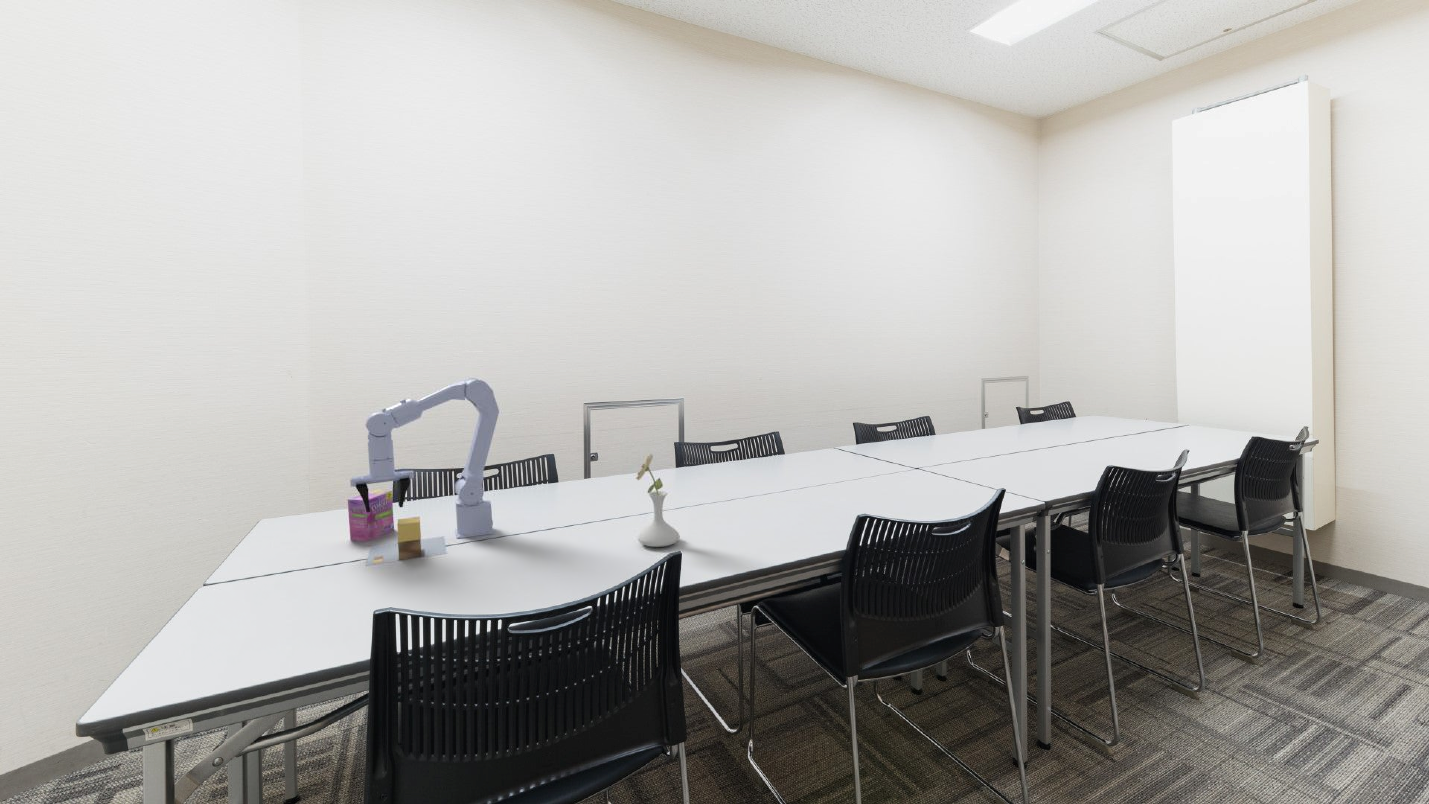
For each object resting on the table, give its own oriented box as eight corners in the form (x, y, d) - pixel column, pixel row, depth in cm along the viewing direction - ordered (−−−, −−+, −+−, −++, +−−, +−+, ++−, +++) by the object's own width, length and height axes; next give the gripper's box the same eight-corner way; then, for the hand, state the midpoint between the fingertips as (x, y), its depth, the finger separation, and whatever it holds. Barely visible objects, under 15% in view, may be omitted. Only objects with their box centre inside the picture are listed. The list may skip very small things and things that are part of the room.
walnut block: (421, 550, 155) (420, 533, 154) (421, 556, 150) (420, 539, 150) (399, 553, 152) (398, 536, 152) (399, 559, 148) (397, 542, 147)
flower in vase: (653, 533, 167) (652, 446, 165) (687, 540, 162) (686, 450, 159) (624, 548, 156) (622, 455, 153) (660, 555, 150) (658, 459, 148)
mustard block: (399, 536, 152) (397, 519, 151) (420, 533, 154) (419, 516, 154) (398, 542, 148) (397, 524, 147) (420, 539, 150) (419, 521, 149)
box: (367, 542, 162) (364, 500, 161) (349, 540, 163) (346, 499, 162) (395, 530, 172) (392, 490, 171) (378, 528, 173) (375, 489, 172)
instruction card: (444, 536, 166) (444, 535, 166) (446, 554, 152) (446, 553, 152) (370, 547, 158) (370, 546, 158) (365, 566, 144) (365, 565, 144)
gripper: (409, 452, 163) (412, 501, 164) (347, 459, 154) (351, 510, 155) (414, 456, 157) (417, 506, 158) (350, 464, 148) (354, 516, 150)
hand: (384, 508), depth 157 cm, fingers open, 7 cm apart
